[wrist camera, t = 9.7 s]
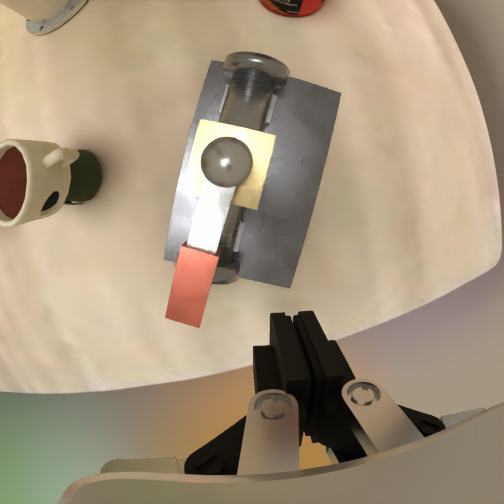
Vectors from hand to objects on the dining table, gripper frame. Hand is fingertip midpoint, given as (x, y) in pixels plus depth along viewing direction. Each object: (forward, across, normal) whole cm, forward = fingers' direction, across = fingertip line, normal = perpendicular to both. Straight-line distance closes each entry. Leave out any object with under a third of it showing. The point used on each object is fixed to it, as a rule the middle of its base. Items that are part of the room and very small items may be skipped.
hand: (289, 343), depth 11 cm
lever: (+12, +4, -2) cm, 13 cm away
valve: (+20, 0, -6) cm, 21 cm away
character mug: (+20, +20, -7) cm, 29 cm away
